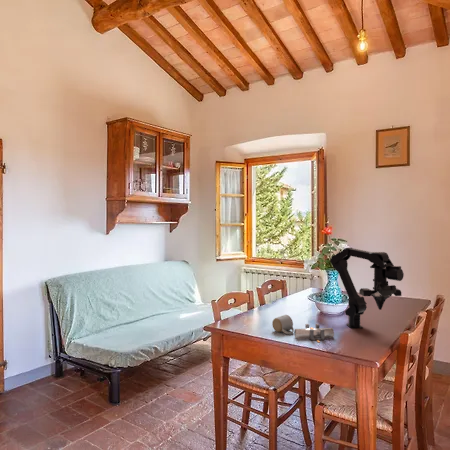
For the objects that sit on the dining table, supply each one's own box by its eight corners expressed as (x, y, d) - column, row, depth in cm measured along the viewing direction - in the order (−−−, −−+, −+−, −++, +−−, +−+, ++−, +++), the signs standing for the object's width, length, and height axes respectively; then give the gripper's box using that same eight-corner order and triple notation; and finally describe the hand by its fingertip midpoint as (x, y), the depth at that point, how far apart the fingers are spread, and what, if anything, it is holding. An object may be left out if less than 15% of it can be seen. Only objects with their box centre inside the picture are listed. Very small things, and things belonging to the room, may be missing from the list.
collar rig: (304, 332, 185) (304, 322, 185) (317, 332, 186) (317, 322, 186) (311, 342, 171) (312, 331, 171) (325, 342, 171) (326, 331, 171)
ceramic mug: (271, 330, 188) (271, 315, 188) (282, 327, 193) (283, 313, 193) (285, 336, 180) (286, 320, 179) (297, 333, 184) (298, 318, 184)
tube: (296, 339, 175) (296, 330, 175) (294, 336, 180) (294, 327, 179) (334, 338, 177) (334, 329, 176) (330, 335, 181) (330, 326, 181)
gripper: (368, 281, 174) (368, 314, 174) (407, 280, 175) (407, 313, 175) (359, 277, 185) (358, 308, 186) (396, 276, 186) (395, 307, 186)
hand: (379, 309), depth 183 cm, fingers closed
